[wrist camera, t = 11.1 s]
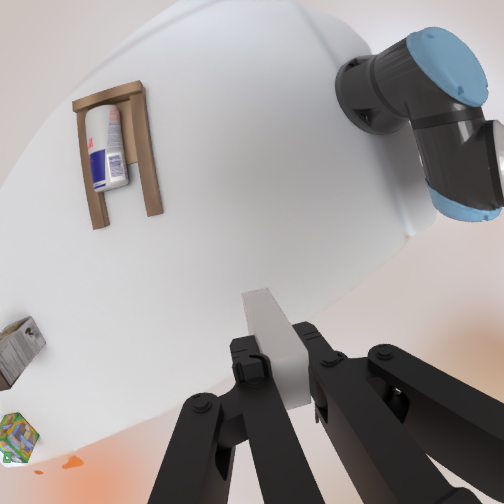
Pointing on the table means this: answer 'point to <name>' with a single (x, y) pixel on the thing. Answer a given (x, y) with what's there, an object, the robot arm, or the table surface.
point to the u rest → (134, 143)
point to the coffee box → (18, 350)
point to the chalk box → (16, 439)
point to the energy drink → (106, 148)
